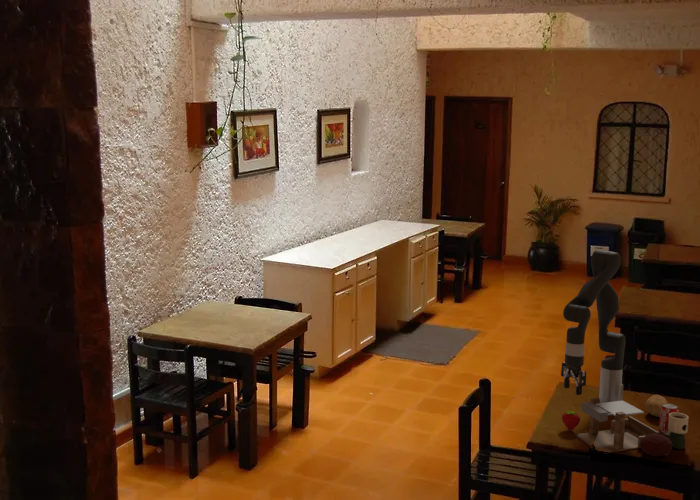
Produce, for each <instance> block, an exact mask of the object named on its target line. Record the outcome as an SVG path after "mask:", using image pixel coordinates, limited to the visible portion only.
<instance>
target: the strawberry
mask: <svg viewBox="0 0 700 500" xmlns="http://www.w3.org/2000/svg"><path fill="white" fill-rule="evenodd" d="M561 420H562V423H563V424H564V426H565V427H566V428H567V430H568V431H570V432H571V431H573V430H574V429H575V428H577V426H579V424H580V422H581V417H580V415H579V414H578V412H576V411H573V410H571V409H570V410H565V412H564V413H563V414H561Z"/></svg>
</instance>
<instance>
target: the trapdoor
mask: <svg viewBox="0 0 700 500" xmlns="http://www.w3.org/2000/svg"><path fill="white" fill-rule="evenodd" d="M581 411H582V412H583V413H585V414H586V415H587V416H589V417H590V416H591V417H593V418H594V419H596V420H598V421H599V423H600V422H608V417H610V416H613V417H615V415H616V412H624V413H625V417H627V416H631V415H632V416H634V415H639V414H645V412H644V411H643V410H641V409H640V408H637V407H636V406H634V405H632V404H630V403H628V402H627V401H624V400H622V401H615V402H606V403H598V404H593V403H591V401H583V402H581Z"/></svg>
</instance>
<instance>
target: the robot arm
mask: <svg viewBox="0 0 700 500" xmlns="http://www.w3.org/2000/svg"><path fill="white" fill-rule="evenodd" d="M590 259H591V261H590V263H591V270H592V275H593V278H591V279H590V280H588V281H586V282H585V283H584V284H583V285H582V286H581V288H580V290H579V292H578V293H577V295H576V296H574V297H573V299H571V300H570V301H569V302H568V303H567V304H566V305H565V307H564V308H563V310H562V311H563V312H562V314H563V315H562V316H563V318H564V320H565V321H568V322H573V323H578V325H577V326H571V327H568V328H567V330H566V339H565V340H566V342H565V349H564V362H561V368H560V376H561V377H562V378H563V387H564V389H569V388H570V386H571V385H570V382H571V380H570V378H572V379H573V381H574V382H575V384H576V386H575V395H577V396H581V395H582V393H583V387H585V386H586V385H587V371H586V370H582V367H583V366H584V364H585V352H586V350H585V340H586V339H585V337H586V330H587V328H588V324H589V322H590V318H591V315H592V313H591V310H590V308H591V307H592V306H593V304H594V303H596V311H597V322H598V348H599V349H600V351H602V352H605V353H609V354H614V356H612V357H607V358H603V359H602V360H601V364H600V376H599V377H600V379H599V395H598V396H599V397H598V398H599V399H600V403H606V402H615V401H623V396H624V384H623V383H622V382H623V369H624V368H623V367H624V366H623V365H624V360H625V359H624V357H625V349H626V336H625V334H623V333H618V332H613V331H609V325H610V323H611V322H612V321H613V320H614V319H615V317H616V316H617V315H618V313H619V311H620V310H619V309H620V304H619V303H620V302H619V301H620V300H619V295H618V292H617V291H616V290H615V288H614V287H613V286H612V284H611V283H610V282H609V281H610V280H611V279H612V278H613V277H614V276H615V275H616V273H617V272H618V270H619V269H620V267H621V260H622V258H621V255H620V253H618V252H616V251H615V252H614V251H610V250H602V249H596V250H594V251H593V253H592V255H591V258H590Z"/></svg>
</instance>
